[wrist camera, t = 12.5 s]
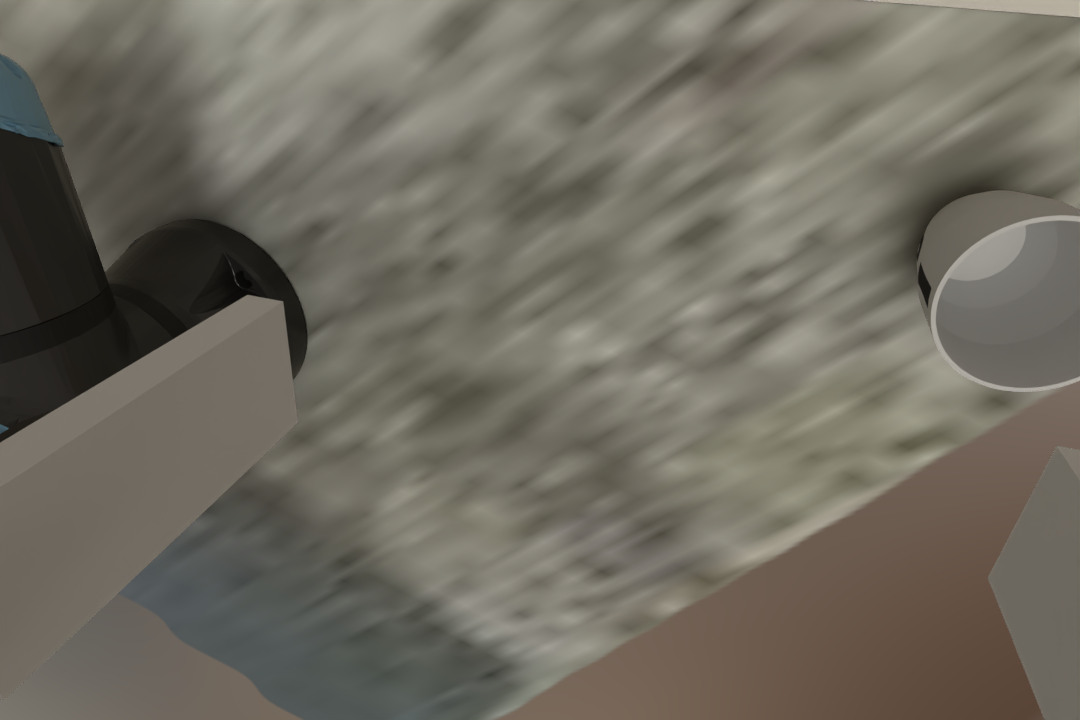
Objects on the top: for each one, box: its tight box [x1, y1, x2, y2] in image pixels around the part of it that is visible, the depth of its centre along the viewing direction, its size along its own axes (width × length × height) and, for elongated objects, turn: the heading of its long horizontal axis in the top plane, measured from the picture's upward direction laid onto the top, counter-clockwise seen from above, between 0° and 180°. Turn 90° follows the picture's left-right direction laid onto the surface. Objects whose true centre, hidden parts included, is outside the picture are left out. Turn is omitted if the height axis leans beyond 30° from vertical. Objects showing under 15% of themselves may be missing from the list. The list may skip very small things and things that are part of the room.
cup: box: [917, 190, 1080, 392], centre depth 34 cm, size 8×8×10 cm
